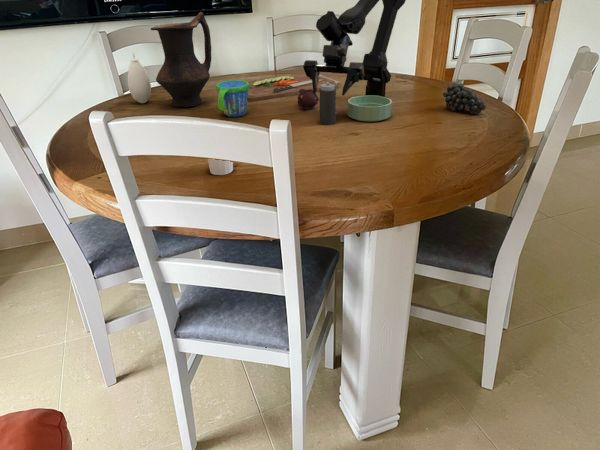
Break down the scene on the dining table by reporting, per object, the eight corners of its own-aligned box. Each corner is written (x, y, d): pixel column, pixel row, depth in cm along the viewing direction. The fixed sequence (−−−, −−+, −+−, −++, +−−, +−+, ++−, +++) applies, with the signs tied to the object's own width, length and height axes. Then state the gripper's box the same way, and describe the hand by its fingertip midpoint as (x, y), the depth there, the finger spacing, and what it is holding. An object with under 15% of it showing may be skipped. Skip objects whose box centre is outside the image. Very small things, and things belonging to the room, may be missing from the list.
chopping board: (314, 74, 206) (314, 67, 204) (346, 87, 185) (346, 79, 183) (218, 88, 188) (217, 80, 187) (241, 103, 168) (240, 94, 166)
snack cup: (233, 122, 147) (230, 90, 142) (208, 118, 152) (204, 87, 147) (261, 110, 159) (259, 80, 154) (236, 106, 164) (234, 77, 159)
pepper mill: (330, 119, 148) (330, 79, 142) (338, 123, 145) (339, 82, 138) (316, 121, 147) (316, 81, 140) (324, 125, 143) (324, 84, 136)
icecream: (328, 93, 151) (311, 88, 164) (308, 90, 148) (291, 84, 161) (324, 115, 154) (307, 107, 166) (304, 112, 151) (288, 104, 163)
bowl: (374, 107, 158) (375, 93, 156) (399, 118, 148) (400, 102, 145) (339, 113, 153) (339, 98, 151) (362, 125, 142) (363, 109, 140)
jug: (170, 114, 157) (154, 18, 142) (154, 102, 170) (138, 14, 155) (227, 104, 166) (218, 13, 151) (207, 94, 180) (197, 9, 165)
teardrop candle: (133, 106, 167) (122, 54, 158) (130, 101, 173) (120, 50, 164) (155, 103, 169) (146, 52, 160) (152, 98, 176) (142, 49, 167)
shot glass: (208, 165, 117) (205, 139, 113) (236, 164, 117) (233, 138, 114) (206, 176, 111) (202, 149, 107) (234, 175, 111) (232, 147, 108)
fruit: (493, 86, 144) (453, 77, 154) (477, 99, 141) (437, 89, 151) (493, 110, 150) (454, 100, 160) (477, 123, 147) (439, 112, 157)
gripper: (304, 32, 141) (293, 77, 137) (364, 34, 135) (354, 80, 132) (312, 55, 151) (302, 97, 148) (368, 57, 146) (359, 101, 142)
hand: (328, 93), depth 142 cm, fingers open, 9 cm apart
